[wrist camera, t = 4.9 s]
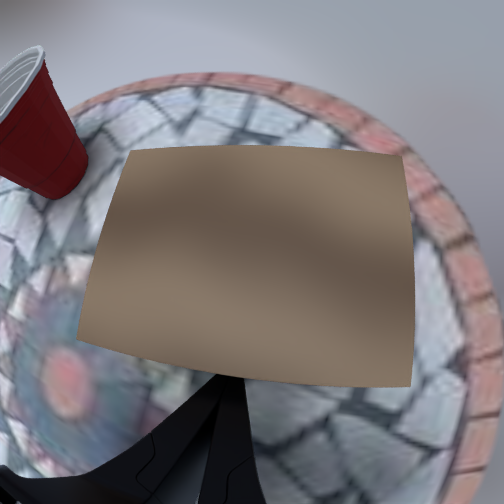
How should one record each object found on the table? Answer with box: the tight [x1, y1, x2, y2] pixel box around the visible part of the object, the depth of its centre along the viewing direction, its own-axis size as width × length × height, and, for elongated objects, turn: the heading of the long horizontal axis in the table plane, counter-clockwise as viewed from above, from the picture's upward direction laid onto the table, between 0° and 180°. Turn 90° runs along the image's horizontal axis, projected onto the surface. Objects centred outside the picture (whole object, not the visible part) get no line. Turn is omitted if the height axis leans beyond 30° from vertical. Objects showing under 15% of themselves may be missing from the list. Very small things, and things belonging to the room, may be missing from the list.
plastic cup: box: [0, 45, 88, 200], centre depth 18 cm, size 11×11×12 cm
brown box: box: [76, 145, 415, 387], centre depth 13 cm, size 8×11×8 cm
